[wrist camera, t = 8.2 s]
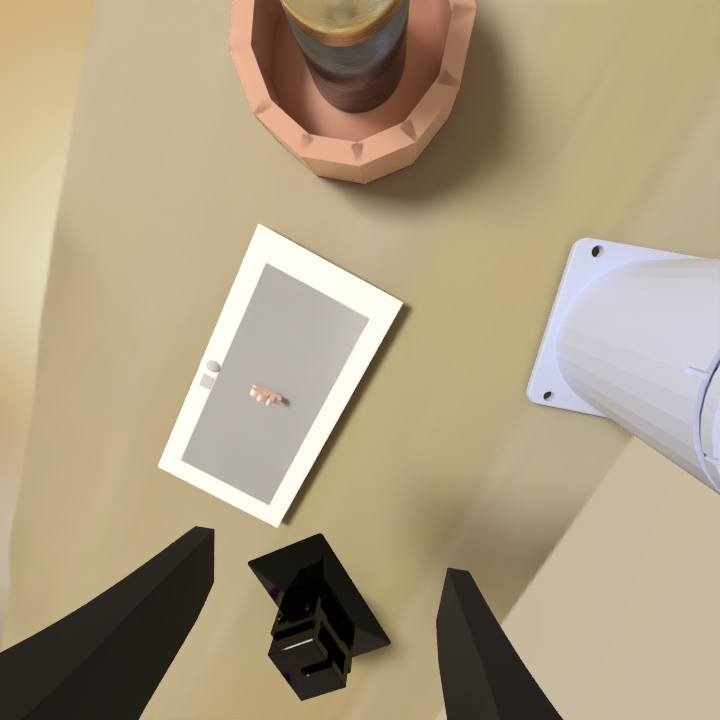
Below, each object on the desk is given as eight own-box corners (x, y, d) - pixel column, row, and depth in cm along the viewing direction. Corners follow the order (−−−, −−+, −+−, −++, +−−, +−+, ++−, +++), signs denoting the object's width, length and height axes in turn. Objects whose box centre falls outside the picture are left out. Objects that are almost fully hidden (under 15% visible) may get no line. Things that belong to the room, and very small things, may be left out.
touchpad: (402, 300, 18) (403, 304, 16) (282, 515, 22) (271, 540, 20) (266, 226, 18) (250, 220, 16) (169, 457, 22) (145, 477, 20)
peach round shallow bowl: (481, -35, 14) (503, -111, 12) (431, 196, 17) (440, 181, 14) (271, -65, 15) (241, -147, 12) (251, 164, 17) (222, 143, 14)
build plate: (413, 649, 24) (418, 734, 20) (320, 678, 26) (305, 764, 21) (321, 502, 22) (304, 560, 18) (225, 543, 23) (187, 607, 19)
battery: (417, 11, 14) (438, -196, 8) (392, 122, 15) (393, 19, 9) (319, -11, 14) (263, -232, 8) (301, 102, 15) (239, -15, 9)
